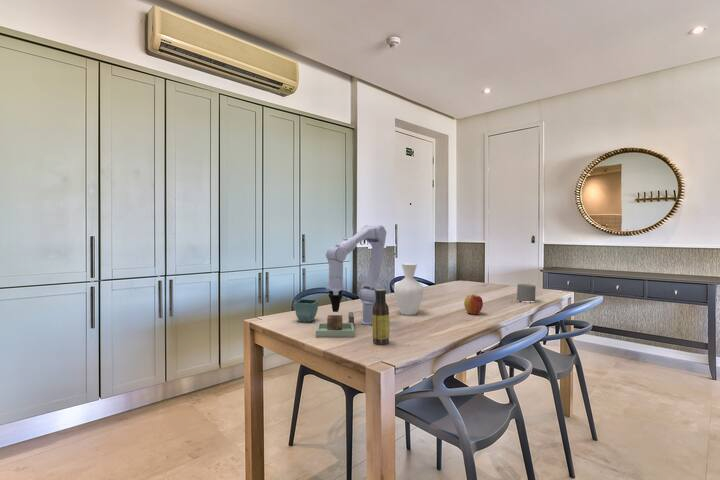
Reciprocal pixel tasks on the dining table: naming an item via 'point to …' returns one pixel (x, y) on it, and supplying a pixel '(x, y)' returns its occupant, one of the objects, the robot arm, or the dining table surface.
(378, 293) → the sauce bottle
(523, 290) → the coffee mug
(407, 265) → the vase
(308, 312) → the flower pot
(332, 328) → the brown block
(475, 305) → the apple
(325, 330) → the tray
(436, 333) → the dining table surface
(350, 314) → the block
